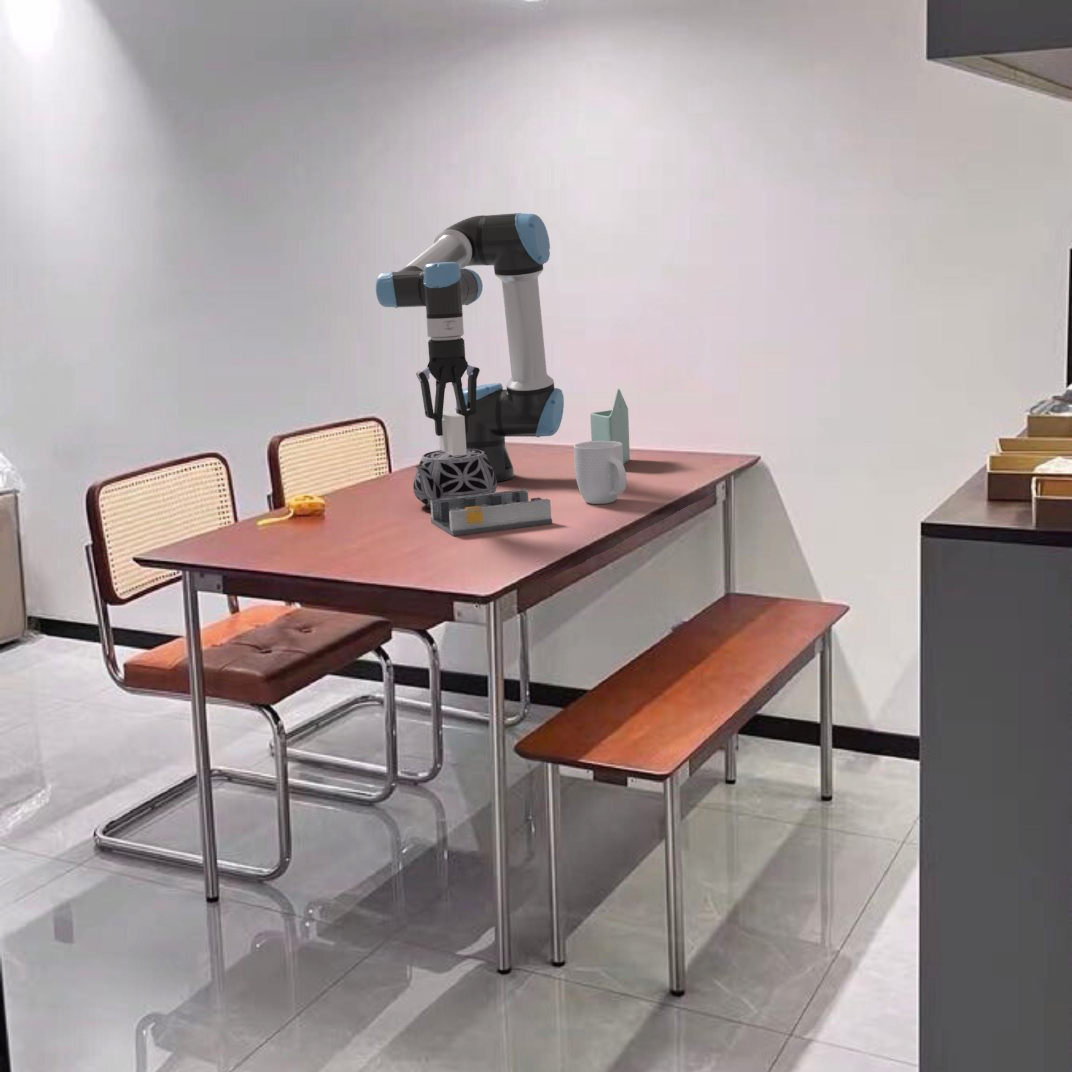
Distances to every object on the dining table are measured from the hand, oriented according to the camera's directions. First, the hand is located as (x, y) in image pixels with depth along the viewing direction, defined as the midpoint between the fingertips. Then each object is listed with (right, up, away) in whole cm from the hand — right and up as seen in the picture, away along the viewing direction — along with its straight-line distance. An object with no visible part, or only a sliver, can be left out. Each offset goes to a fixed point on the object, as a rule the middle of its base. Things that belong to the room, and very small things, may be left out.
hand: (452, 449), depth 311 cm
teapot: (-1, -11, +26) cm, 29 cm away
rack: (+8, -15, +5) cm, 18 cm away
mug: (+33, -11, +22) cm, 41 cm away
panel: (0, 0, 0) cm, 0 cm away
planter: (+36, 0, +69) cm, 77 cm away
